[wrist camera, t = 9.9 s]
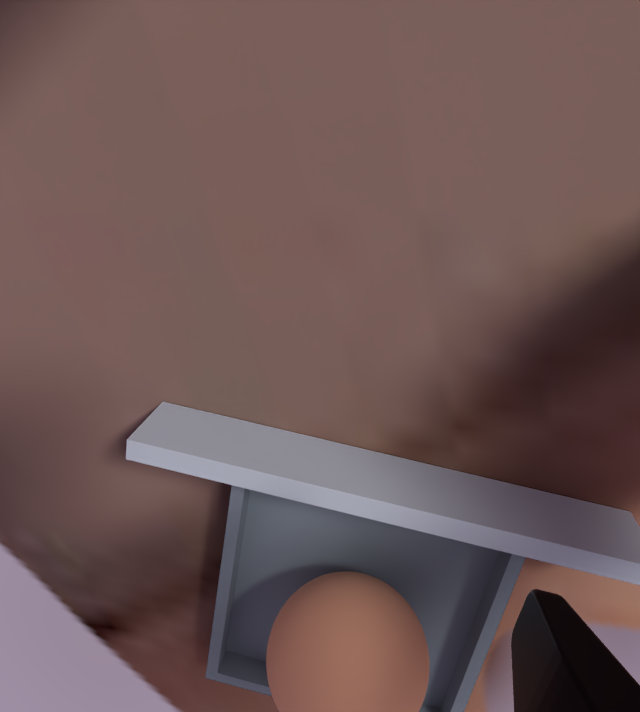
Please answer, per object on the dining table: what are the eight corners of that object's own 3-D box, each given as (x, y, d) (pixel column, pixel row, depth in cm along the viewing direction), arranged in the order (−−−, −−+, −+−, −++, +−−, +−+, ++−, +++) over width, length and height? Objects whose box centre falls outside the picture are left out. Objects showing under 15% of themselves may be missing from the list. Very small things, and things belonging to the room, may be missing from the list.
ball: (441, 557, 23) (456, 696, 17) (407, 663, 25) (409, 815, 19) (294, 523, 23) (261, 649, 17) (273, 631, 25) (238, 772, 20)
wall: (631, 511, 21) (663, 569, 18) (622, 529, 21) (654, 588, 18) (162, 401, 22) (126, 439, 19) (161, 419, 23) (125, 459, 20)
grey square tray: (523, 519, 22) (530, 545, 20) (448, 712, 26) (450, 745, 24) (244, 452, 22) (233, 473, 21) (216, 649, 27) (205, 678, 25)
